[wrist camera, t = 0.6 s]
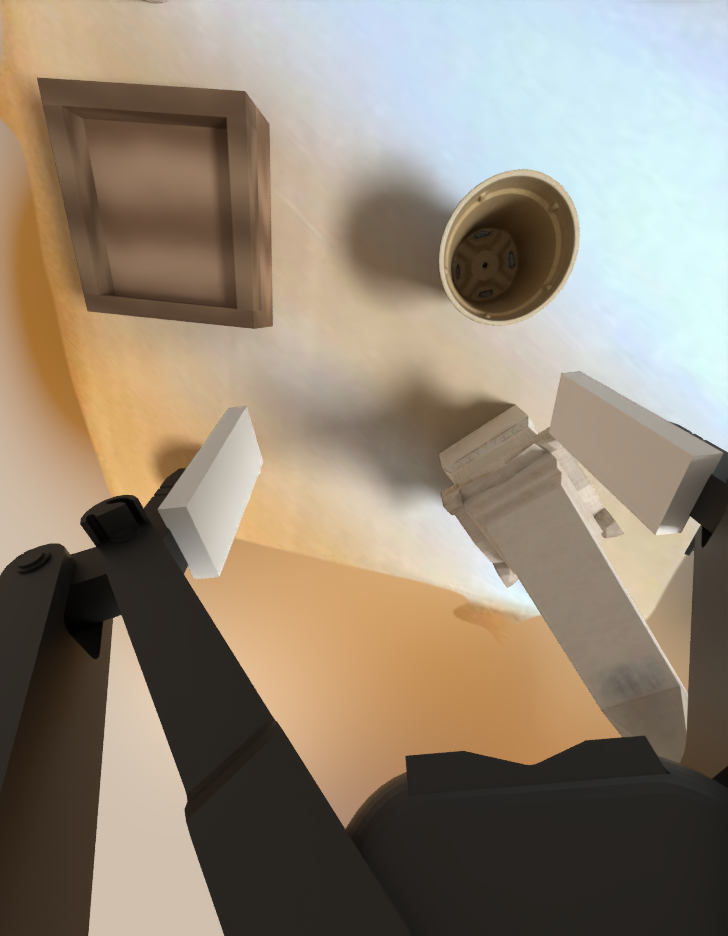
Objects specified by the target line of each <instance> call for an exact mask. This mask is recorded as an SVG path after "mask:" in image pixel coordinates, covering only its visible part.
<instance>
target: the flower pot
mask: <svg viewBox="0 0 728 936" xmlns="http://www.w3.org/2000/svg"><path fill="white" fill-rule="evenodd" d="M483 231H488V232H489V236H484V237H480V238H477V239H475V235H476V234H477V233H479V232H483ZM579 237H580V234H579V221H578V215H577V212H576V209H575V206H574V204H573V201H572V199H571V198H570V196H569V195H568V193H567V192H566V191H565V189H564V188H563V186H562V185H560V184H559V183H558V182H557V181H556V180H554V179H553V178H551V177H550V176H547V175H545V174H543V173H542V172H538V171H533V170H525V169H522V170H520V169H519V170H513V171H506V172H504V173H500V174H498V175H495V176H493V177H491V178H489V179H487V180H485V181H484V182H482V183H480V184H479V185H477V186H476V187H475V188H474V189H473V190H471V191H470V192H469V193H468V194H467V195H466V196H465V197H464V198H463V199H462V200H461V202H460V203H459V204H458V206H457V207H456V209H455V210H454V212H453V213H452V215H451V217H450V219H449V221H448V223H447V225H446V227H445V230H444V233H443V236H442V240H441V245H440V251H439V271H440V277H441V281H442V285H443V287H444V290H445V293H446V295H447V296H448V298H449V300H450V301H451V303H452V304H453V305H454V306H455V307H456V309H457V310H458V311H459V312H461V313H462V314H463V315H465V316H466V317H468V318H469V319H471V320H473V321H476V322H478V323H482V324H485V325H493V326H497V325H498V326H501V325H509V324H514V323H517V322H520V321H523V320H525V319H527V318H529V317H531V316H533V315H535V314H536V313H538V312H539V311H540V310H542V309H543V308H544V307H546V306H547V305H548V304H549V303H550V302H551V301H552V300H553V299H554V298H555V297H556V296H557V295H558V293H559V292H560V291H561V289H562V288H563V287H564V285H565V283H566V282H567V280H568V278H569V276H570V274H571V272H572V270H573V267H574V264H575V261H576V257H577V253H578V247H579ZM510 252H512V255H513V257H514V267H512V268H511V267H510V266H509V262H510V258H509V253H510ZM484 263H487V267H486V268H483V264H484ZM457 265H459V270H460V271H461V272H460V277H459V278H457V273H456V267H457ZM489 290H492V295H491V296H488V297H480V296H479V293H480V292H484V291H489Z"/></svg>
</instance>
